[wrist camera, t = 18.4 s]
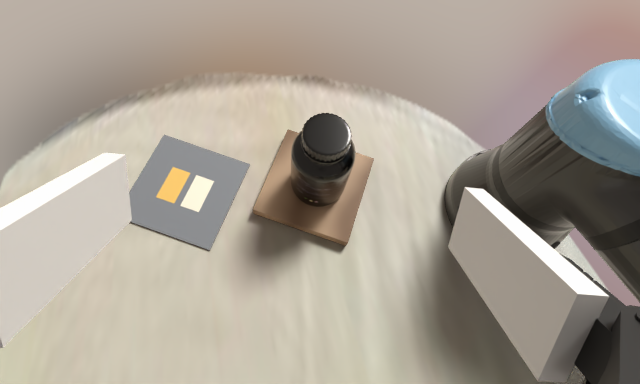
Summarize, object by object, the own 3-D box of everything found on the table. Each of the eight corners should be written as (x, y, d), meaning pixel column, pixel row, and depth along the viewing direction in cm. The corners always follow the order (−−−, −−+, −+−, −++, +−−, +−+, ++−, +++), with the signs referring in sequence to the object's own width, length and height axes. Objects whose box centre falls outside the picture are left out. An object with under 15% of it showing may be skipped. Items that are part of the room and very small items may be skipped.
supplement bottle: (299, 152, 47) (303, 94, 36) (350, 167, 47) (370, 113, 36) (282, 199, 44) (282, 152, 33) (336, 215, 44) (354, 174, 33)
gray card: (249, 164, 47) (249, 164, 47) (209, 250, 43) (209, 250, 43) (164, 135, 48) (164, 134, 48) (115, 216, 43) (114, 216, 43)
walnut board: (371, 163, 49) (373, 158, 48) (345, 245, 44) (347, 242, 43) (287, 135, 50) (287, 129, 48) (253, 213, 45) (252, 209, 44)
